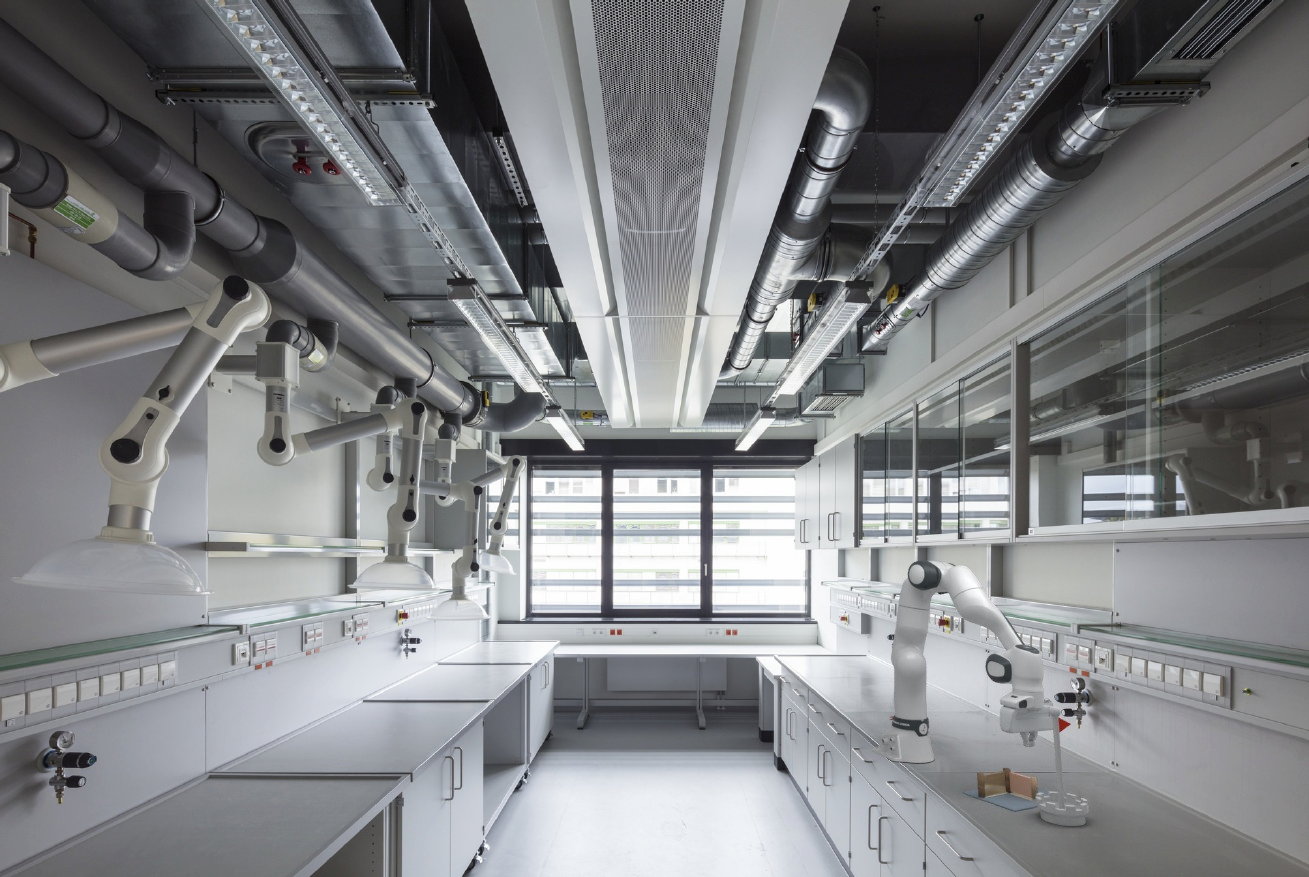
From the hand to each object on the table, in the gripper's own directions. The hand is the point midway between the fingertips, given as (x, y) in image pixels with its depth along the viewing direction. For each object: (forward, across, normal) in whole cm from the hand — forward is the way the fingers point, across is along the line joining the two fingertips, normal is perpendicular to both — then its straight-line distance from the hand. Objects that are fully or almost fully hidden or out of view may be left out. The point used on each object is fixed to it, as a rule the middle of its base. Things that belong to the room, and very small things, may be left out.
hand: (1029, 746), depth 240 cm
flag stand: (+14, +10, +20) cm, 27 cm away
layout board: (+14, +6, 0) cm, 15 cm away
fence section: (+13, +5, +3) cm, 14 cm away
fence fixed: (+14, +11, -3) cm, 18 cm away
